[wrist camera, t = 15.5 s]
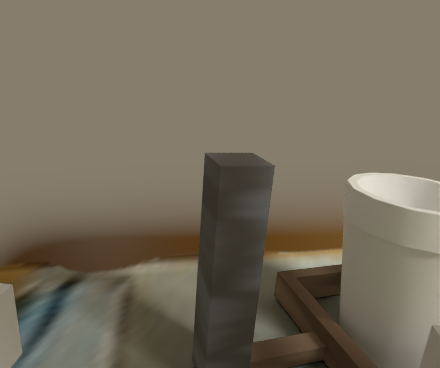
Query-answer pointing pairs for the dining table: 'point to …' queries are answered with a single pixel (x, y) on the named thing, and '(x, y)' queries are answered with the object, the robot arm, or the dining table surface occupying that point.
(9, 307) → the robot arm
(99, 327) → the dining table surface
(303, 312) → the sliding frame
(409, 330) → the foam cup
